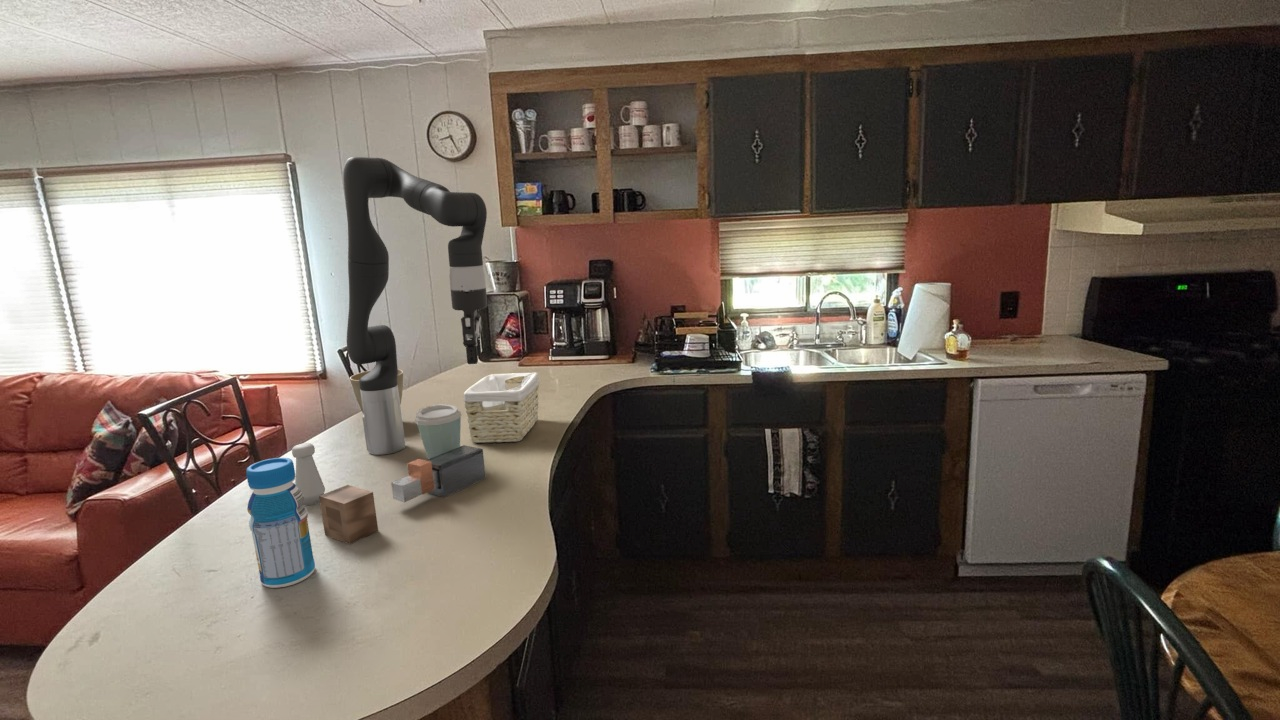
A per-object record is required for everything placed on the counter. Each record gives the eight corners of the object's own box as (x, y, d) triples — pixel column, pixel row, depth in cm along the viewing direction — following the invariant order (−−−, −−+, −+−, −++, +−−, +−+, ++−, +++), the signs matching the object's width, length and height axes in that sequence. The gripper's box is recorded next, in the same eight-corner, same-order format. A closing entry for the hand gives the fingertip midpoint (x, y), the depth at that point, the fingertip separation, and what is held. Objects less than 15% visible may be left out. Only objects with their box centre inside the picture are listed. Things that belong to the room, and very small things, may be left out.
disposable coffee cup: (475, 466, 155) (469, 407, 152) (435, 480, 148) (428, 418, 145) (452, 457, 162) (446, 400, 159) (412, 470, 155) (405, 410, 152)
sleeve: (467, 473, 151) (463, 445, 149) (485, 478, 147) (482, 448, 146) (425, 492, 141) (421, 461, 139) (444, 497, 138) (441, 466, 136)
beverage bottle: (277, 595, 102) (256, 477, 98) (249, 582, 107) (228, 468, 103) (327, 570, 109) (309, 459, 105) (299, 559, 114) (281, 452, 110)
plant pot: (346, 428, 192) (339, 377, 189) (390, 416, 204) (384, 367, 201) (375, 435, 184) (368, 382, 181) (419, 422, 196) (413, 371, 193)
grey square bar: (469, 465, 150) (466, 440, 148) (481, 468, 148) (478, 442, 146) (392, 499, 132) (388, 470, 131) (405, 502, 130) (401, 473, 129)
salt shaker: (332, 498, 140) (323, 441, 137) (309, 509, 135) (300, 450, 132) (314, 495, 142) (305, 439, 140) (290, 505, 137) (281, 447, 135)
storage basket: (491, 419, 195) (487, 372, 192) (544, 418, 194) (540, 370, 191) (466, 446, 171) (460, 392, 168) (525, 444, 170) (520, 390, 167)
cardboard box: (353, 522, 127) (347, 484, 126) (378, 530, 123) (372, 491, 122) (325, 535, 122) (318, 495, 121) (350, 544, 118) (344, 503, 117)
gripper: (454, 284, 145) (460, 354, 149) (446, 291, 132) (453, 367, 135) (488, 283, 147) (493, 352, 150) (483, 289, 133) (489, 365, 136)
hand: (474, 359), depth 143 cm, fingers open, 8 cm apart
